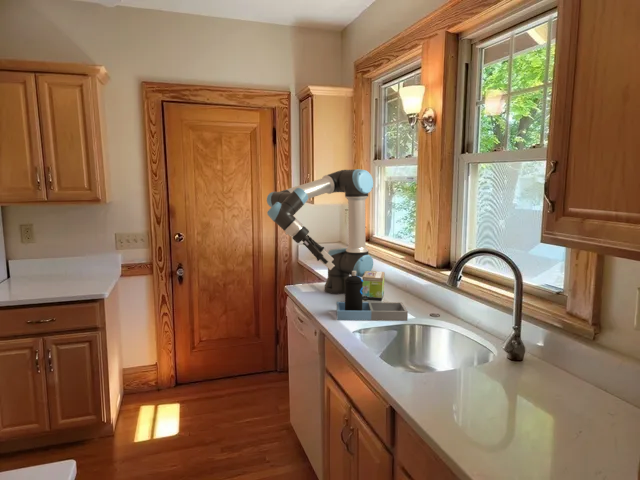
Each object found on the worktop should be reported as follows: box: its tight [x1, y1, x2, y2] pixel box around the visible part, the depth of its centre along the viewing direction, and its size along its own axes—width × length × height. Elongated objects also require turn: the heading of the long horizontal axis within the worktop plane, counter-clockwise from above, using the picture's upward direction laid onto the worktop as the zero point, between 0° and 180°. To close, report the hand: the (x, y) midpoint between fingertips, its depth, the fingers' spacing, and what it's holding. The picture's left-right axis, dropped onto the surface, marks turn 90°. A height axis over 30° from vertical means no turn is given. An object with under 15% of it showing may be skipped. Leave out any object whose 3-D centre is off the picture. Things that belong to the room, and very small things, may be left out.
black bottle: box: [344, 271, 363, 311], centre depth 192 cm, size 8×8×20 cm
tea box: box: [361, 270, 385, 302], centre depth 211 cm, size 15×10×15 cm
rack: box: [336, 301, 409, 322], centre depth 193 cm, size 14×30×4 cm, turn 89°
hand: (332, 264), depth 192 cm, fingers open, 13 cm apart
